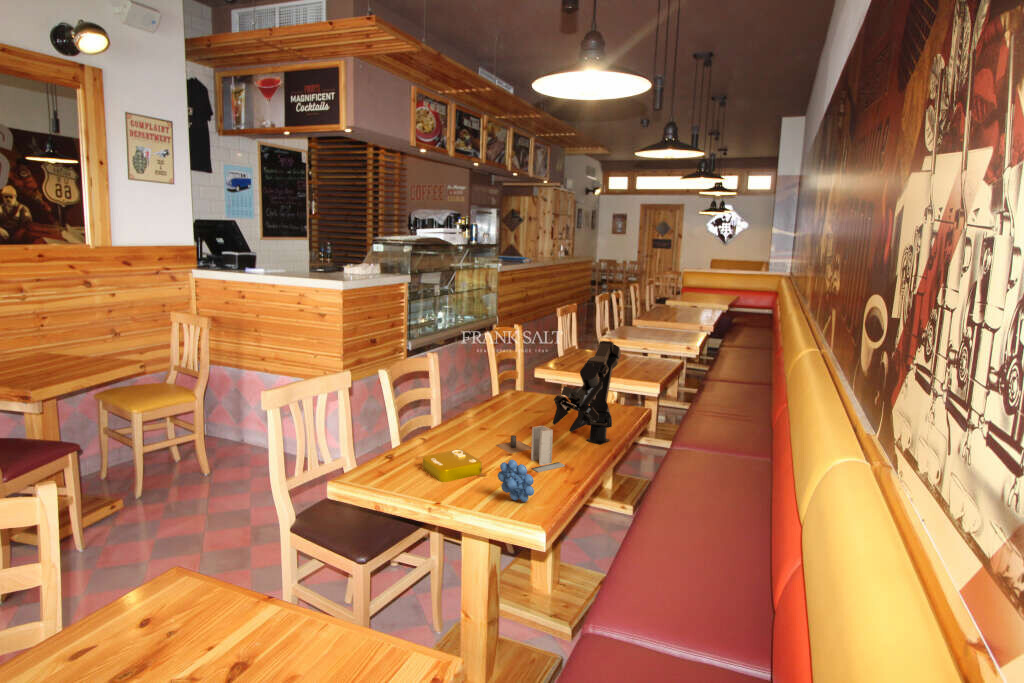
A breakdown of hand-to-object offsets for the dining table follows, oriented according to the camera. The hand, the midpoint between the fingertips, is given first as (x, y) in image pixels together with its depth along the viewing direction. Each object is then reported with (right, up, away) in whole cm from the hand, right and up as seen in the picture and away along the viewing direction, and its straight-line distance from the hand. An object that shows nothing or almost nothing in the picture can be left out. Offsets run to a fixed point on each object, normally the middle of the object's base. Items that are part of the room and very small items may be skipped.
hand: (561, 427), depth 207 cm
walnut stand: (-16, -9, +11) cm, 22 cm away
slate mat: (-7, -12, -3) cm, 14 cm away
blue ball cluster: (-16, -17, -32) cm, 40 cm away
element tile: (-36, -13, -10) cm, 40 cm away
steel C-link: (-7, -12, -3) cm, 14 cm away
